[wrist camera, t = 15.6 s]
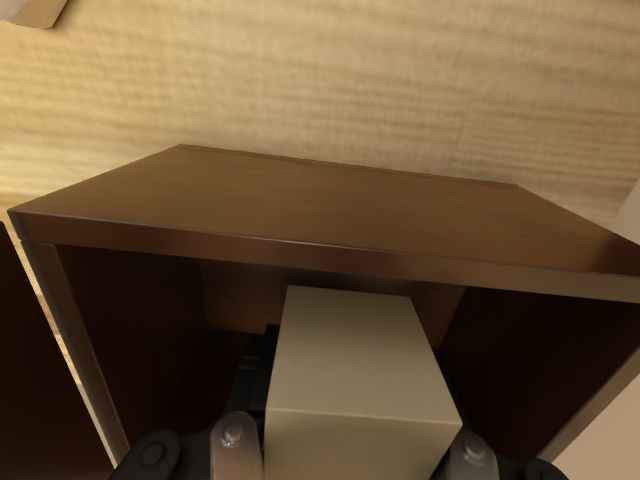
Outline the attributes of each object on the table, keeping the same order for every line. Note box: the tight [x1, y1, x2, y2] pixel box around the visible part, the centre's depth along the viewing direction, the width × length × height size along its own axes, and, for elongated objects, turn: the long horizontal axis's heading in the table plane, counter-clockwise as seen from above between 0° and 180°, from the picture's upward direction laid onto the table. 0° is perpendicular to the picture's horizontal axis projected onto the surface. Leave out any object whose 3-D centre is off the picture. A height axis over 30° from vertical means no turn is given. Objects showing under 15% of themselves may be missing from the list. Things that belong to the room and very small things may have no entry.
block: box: [263, 285, 462, 480], centre depth 10 cm, size 5×5×5 cm
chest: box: [7, 144, 640, 465], centre depth 14 cm, size 18×13×9 cm
